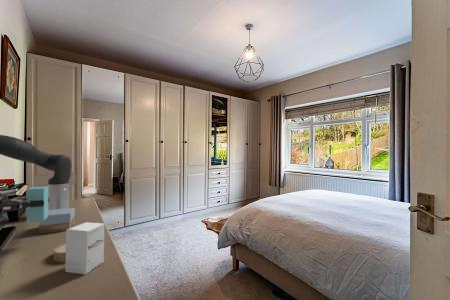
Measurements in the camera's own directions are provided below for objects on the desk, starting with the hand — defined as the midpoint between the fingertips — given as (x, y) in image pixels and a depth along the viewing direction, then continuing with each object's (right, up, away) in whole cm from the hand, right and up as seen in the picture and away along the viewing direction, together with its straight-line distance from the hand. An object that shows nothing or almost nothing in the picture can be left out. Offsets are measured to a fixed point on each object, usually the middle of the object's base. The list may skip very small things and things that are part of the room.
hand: (46, 201), depth 85 cm
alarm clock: (+18, -17, -8) cm, 26 cm away
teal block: (-2, -6, -1) cm, 7 cm away
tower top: (-8, -13, +16) cm, 22 cm away
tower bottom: (-8, -17, +17) cm, 25 cm away
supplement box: (+26, -16, -17) cm, 35 cm away
